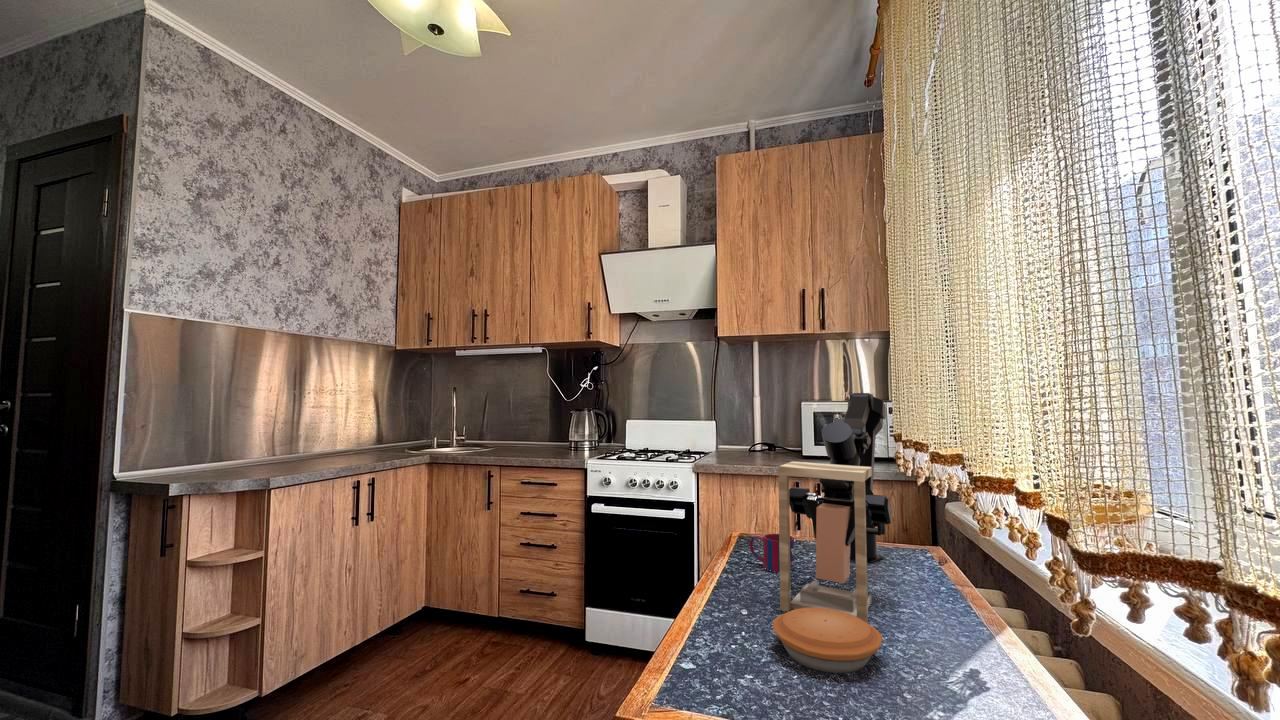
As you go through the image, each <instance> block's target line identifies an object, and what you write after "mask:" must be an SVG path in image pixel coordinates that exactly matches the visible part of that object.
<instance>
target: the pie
mask: <svg viewBox="0 0 1280 720" xmlns="http://www.w3.org/2000/svg"><path fill="white" fill-rule="evenodd" d="M772 628H773V629H772V630H773V633H774V634H775V635H776V637H777V639H779V640H780V641H781V643H782V645H783V647H784V648H785V651H786V652H787V654H788V656H790V657H791V658H792V659H793V660H794V661H796V662H797V663H798V664H801V665H802V666H804V667H808V668H810V669H813V670H816V671H821V672H826V673H833V674H842V673H843V674H846V673H847V674H849V673H853V672H857V671H859V670H862V669H863V668H865V666H866V665H867V663H868V662H869V661H870V659H871V658H872V656H873V655H874V654H875V653H876V652H877V651H878V650H879V649H880V647H881V645H882V643H883V634H882V633H880V631H878V629H876V628H875V627H874V626H872V625H870V624H869V622H868V623H866V622H864V621H863V620H861V619H860V618H858V617H856V616H853V615H851V614H848V613H845V612H841V611H838V610H832V609H827V608H800V609H791V610H790V611H789V612H785V613H783V614H779V616H777V617H775V618H774V619H773V623H772Z"/></svg>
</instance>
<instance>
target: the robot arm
mask: <svg viewBox="0 0 1280 720" xmlns="http://www.w3.org/2000/svg"><path fill="white" fill-rule="evenodd" d="M886 418H887V407H886V404H885V401H884V400H882V399H880V398H878V397H875V396H874V394H873V393H870V392H853V393H850V395H849V399H848V400H847V408H846V413H845V415H844V417H843V418H834V420H833V422H830V423H828V424H826V425H825V426H824V427H823V428H822V430H821V436H822V441H823V444H824V448H825V452H826V455H827V458H830V461H829V464H837V465H851V466H866V467H872V476H870V477H869V478H868V479H867V480H865V499H866V547H867V564H872V563H874V562H877V561H880V560H881V559H884V556H883V555H880V554H878V553H877V549H878V547H877V536H880V537H881V536H882V535H883V536H884V535H886V525H889V524H891V521H892V509H891V508H892V507H891V503H890V499H889V497H888V496H887V495H881V494H874V492H873V489H874V486H873V485H874V470H875V469H874V467H875V453H876V452H875V451H876V450H875V448H876V437H877V435H878V434H879V433H880V431H882V429H883V428H884V420H886ZM818 479H819V482H818V483H820V484H821V486H820V491H821V493H823V496H821V495H818V494H817V493H812V492H811V491H810V488H809V487H808V488H807V487H796V486H794V487H793V486H791V487H789V503H790V511H791V512H792V513H794V514H795V515H805V516H806V518H808V519H811V522H812V528H813V534H814V540H815V541H816V512H817V507H818V506H819V505H821V504H822V503H827V504H835V505H842V506H849V507H850V522H849V526H848V530H847V533H846V540H845V544H846V546H849V545H850V560H855V561H856V551H855V500H854V481H848V480H836V479H824V478H818Z"/></svg>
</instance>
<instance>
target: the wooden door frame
mask: <svg viewBox="0 0 1280 720" xmlns="http://www.w3.org/2000/svg"><path fill="white" fill-rule="evenodd" d="M777 469H778V470H777V471H778V534H779V560H780V573H779V611H781V610H782V612H786V611H787V612H789V611H792V610H795V609H800V608H827V609H832V610H838V611H841V612H845V613H848V614H851V615H853V616H856V617H858V618H860V619H861V620H863V621H864V622H866V623H868V624H869V607H870V605H871V603H872V601H873V595H872V594H868V563H867V547H866V499H865V480H867V479H868V478H869V477H870V476H872V467H866V466H851V465H837V464H830V463H819V462H818V463H817V462H807V461H806V462H803V461H790V462H787V463H785V464H781V465H779V466H778V468H777ZM790 477H800V478H801V477H802V478H811V479H812V478H814V479H820V478H824V479H836V480H848V481H854V500H855V551H856V560H855V586H856V587H855V588H854V589H853V590H852V591H851V590H845V589H840V588H835V587H828V586H824V585H820V581H816V580H812V581H811V582H810V583H808V582H807V583H806V584H805V585H804V586H803V587H802V588H801V589H800V590H799V592H798V593H797V594H796V595H795V596H794V597H793V598H791V595H792V592H791V591H792V590H791V587H792V586H791V572H790V536H791V527H790V526H791V523H790V521H791V520H790V519H791V518H790V517H791V515H790V513H791V512H790V511H791V507H790V503H789V489H790ZM791 599H792V600H791ZM787 612H786V613H787Z"/></svg>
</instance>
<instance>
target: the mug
mask: <svg viewBox="0 0 1280 720" xmlns="http://www.w3.org/2000/svg"><path fill="white" fill-rule="evenodd" d="M755 539H758V540H760V541H761V542H762V546H763V547H762V550H763V556H762V557H761V556H759V555H758V554H757V553H756V552H755V549H754V547H753V546H754V540H755ZM749 549H750V552H751V554H752V556H753V557H755V558H756V559H757V560H759V561H761V562H763V568H764V569H765V568H766V569H768V570H771V571H775V572H774V573H776V572H780V560H779V533H767V534H764V535H763V536H759V535H754V536H752V538H751V539H750V541H749ZM795 558H796V557H795V537H793V536H792V535H790V571H793V570H794V569H795V566H796V565H795V564H796V563H795ZM766 569H765V570H766ZM768 570H767V571H768ZM771 571H770V572H771ZM794 571H795V570H794ZM794 571H793V572H794Z"/></svg>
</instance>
